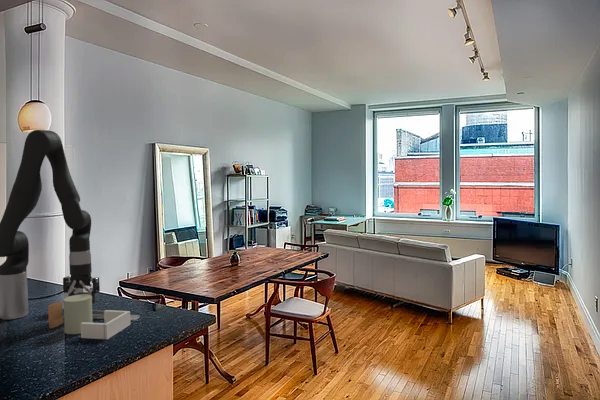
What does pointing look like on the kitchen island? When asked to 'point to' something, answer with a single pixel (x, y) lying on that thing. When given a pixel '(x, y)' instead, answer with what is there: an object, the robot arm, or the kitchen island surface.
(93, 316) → the rail
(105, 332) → the frame
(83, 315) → the can
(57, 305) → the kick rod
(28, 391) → the kitchen island surface
